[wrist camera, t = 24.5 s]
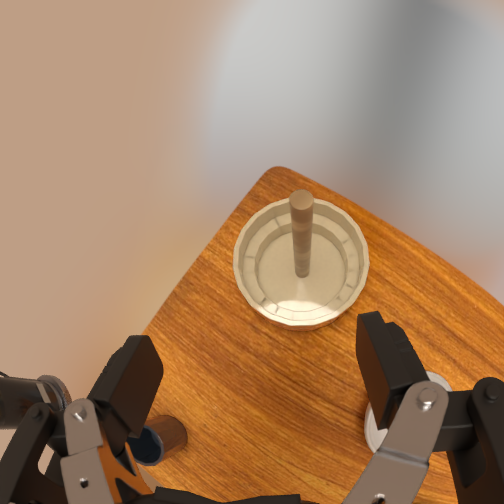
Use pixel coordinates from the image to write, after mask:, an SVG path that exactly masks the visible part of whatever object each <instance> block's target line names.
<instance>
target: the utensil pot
mask: <svg viewBox="0 0 504 504" xmlns="http://www.w3.org/2000/svg"><path fill="white" fill-rule="evenodd" d="M126 442H127V443H128V445H129V447H130V450H131V452H132V455H133V457H134V460H135V461H136V462H137V463H139V464H142V465H144V466H155V465H157V464H159V463H161V462H162V461H164V460H166V459H167V458H169V457H171V456H172V455H174V454H175V453H177V452H178V451H180V450H181V449H183V448H184V446H185V445H186V442H187V433H186V430H185V428H184V426H183V425H182V424H181V422H179V421H178V420H177V419H175V418H174V417H171V416H167V415H162V416H157V417H154V418H150V419H147V420H146V421H145V424H144V427H143V429H142V432H141V435H140V437H139V438H133V437H128V438H127V440H126Z"/></svg>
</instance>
